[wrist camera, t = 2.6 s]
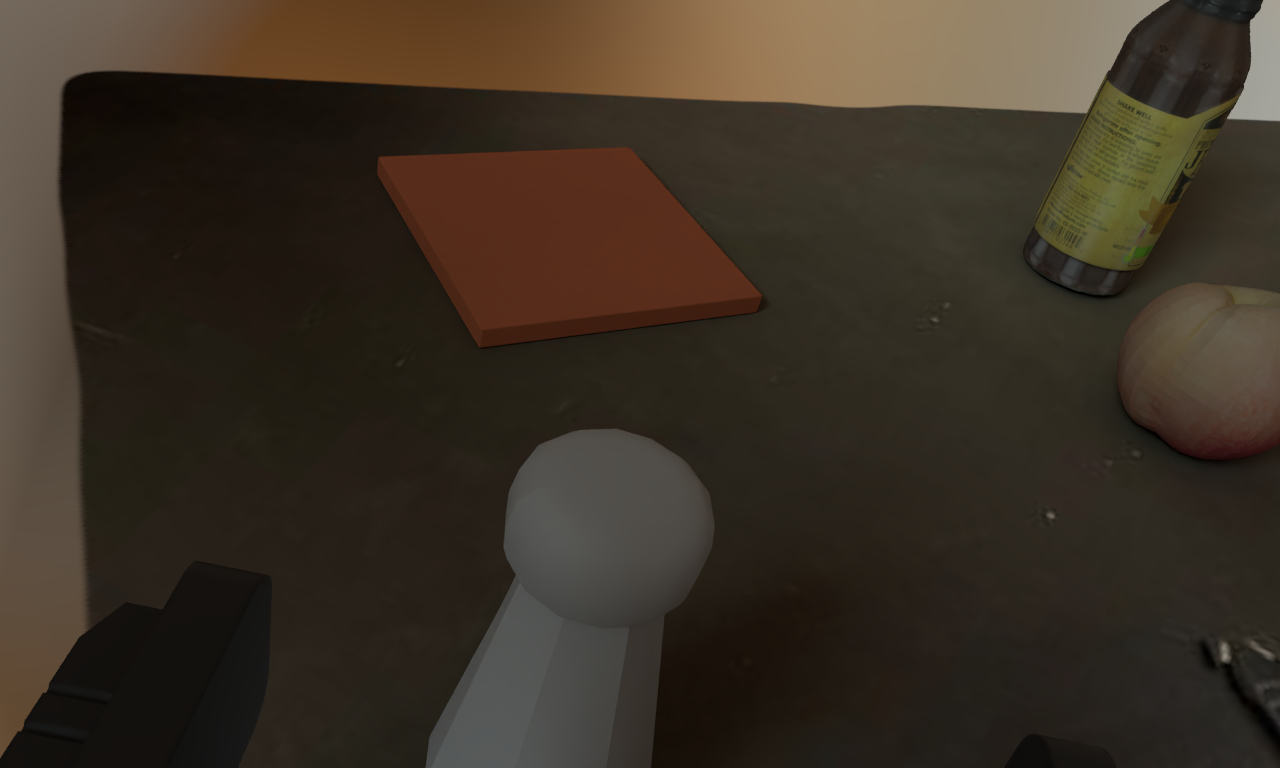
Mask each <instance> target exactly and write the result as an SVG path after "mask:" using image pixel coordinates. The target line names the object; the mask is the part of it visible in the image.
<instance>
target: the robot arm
mask: <svg viewBox="0 0 1280 768" xmlns="http://www.w3.org/2000/svg"><path fill="white" fill-rule="evenodd" d="M271 596H272V583H271V578H270V576H269V575H264V574H259V573H255V572H250V571H245V570H240V569H235V568H230V567H225V566H220V565H215V564H210V563H205V562H200V561H195V562H193V563H192V564H191V565H190V566H189V567H188V568H187V570H186V571H185V573H184V574H183V576H182V577H181V579H180V581H179V582H178V584H177V586H176V588H175V589H174V591H173V593H172V594H171V596H170V598H169V600H168V601H167V603H166V605H165V606H164V608H163V610H162V609H157V608H152V607H147V606H142V605H137V604H132V603H127V602H126V603H125V604H123V605H122V606H121V607H119V608H118V609H117V610H115V611H114V612H113V613H111V614H110V615H109V616H107V617H106V618H105V619H103V620H102V621H101V622H99V623H98V624H97V625H95V626H94V627H93V628H91V629H90V630H89V631H87V632H86V633H85V634H83V635H82V636H81V637H79V638H78V640H77V642H76V643H75V645H74V646H73V648H72V649H71V651H70V652H69V654H68V655H67V657H66V659H65V660H64V662H63V663H62V665H61V666H60V668H59V669H58V671H57V672H56V674H55V675H54V677H53V679H52V680H51V681H50V683H49V688H48V690H47V692H46V693H43V694H42V695H41V697H40V698H39V700H38V702H37V703H36V704H35V706H34V707H33V709H32V711H31V712H30V714H29V715H28V717H27V718H26V720H25V722H24V727H23V729H22V731H21V732H20V731H18V732H17V734H16V735H15V737H14V738H13V740H12V741H11V743H10V744H9V746H8V747H7V749H6V751H5V752H4V753H3V755H2V757H1V758H0V768H238V766H239V764H240V761H241V759H242V757H243V754H244V752H245V750H246V748H247V745H248V743H249V741H250V738H251V736H252V734H253V731H254V729H255V726H256V723H257V721H258V717H259V714H260V711H261V708H262V704H263V700H264V697H265V692H266V687H267V682H268V675H269V654H270V625H271ZM1004 768H1116V765H1115V763H1114V761H1113V759H1112V757H1111V756H1110V754H1109V753H1108V752H1107V751H1106V750H1104V749H1103V748H1100V747H1096V746H1091V745H1086V744H1081V743H1076V742H1071V741H1066V740H1061V739H1056V738H1052V737H1047V736H1042V735H1037V734H1030V735H1028V736H1027V737H1025V738H1024V739H1023V740H1022V742H1021V743H1020V744H1019V746H1018V747H1017V749H1016V750H1015V752H1014V753H1013V755H1012V756H1011V758H1010V760H1009V761H1008V763H1007V764H1006V766H1005V767H1004Z"/></svg>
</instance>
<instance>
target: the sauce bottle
mask: <svg viewBox="0 0 1280 768" xmlns="http://www.w3.org/2000/svg"><path fill="white" fill-rule="evenodd" d="M1262 1H1263V0H1170V1H1168V2H1167V3H1165V4H1163V5H1162V6H1160V7H1159V8H1158V9H1156V10H1155V11H1153V12H1152V13H1151V14H1150V15H1148V16H1147V17H1146V18H1144V19H1143V20H1142V21H1140V22H1139V23H1138V24H1137V25H1136V26H1135V27H1134V28H1133V29H1132V30H1131V32H1130V33H1129V34H1128V36H1127V38H1126V40H1125V42H1124V44H1123V46H1122V49H1121V50H1120V53H1119V54H1118V56H1117V59H1116V60H1115V62H1114V64H1113V66H1112V68H1111V70H1109V71H1108V72H1107V74H1106V76H1105V78H1104V80H1103V82H1102V84H1101V86H1100V88H1099V90H1098V92H1097V94H1096V96H1095V98H1094V100H1093V102H1092V104H1091V106H1090V108H1089V110H1088V112H1087V114H1086V116H1085V118H1084V120H1083V122H1082V124H1081V126H1080V128H1079V130H1078V132H1077V134H1076V136H1075V138H1074V140H1073V142H1072V144H1071V146H1070V148H1069V150H1068V152H1067V154H1066V156H1065V158H1064V160H1063V162H1062V164H1061V166H1060V168H1059V170H1058V172H1057V174H1056V176H1055V178H1054V180H1053V182H1052V184H1051V186H1050V188H1049V190H1048V192H1047V194H1046V196H1045V198H1044V200H1043V202H1042V204H1041V206H1040V208H1039V210H1038V212H1037V214H1036V217H1035V219H1034V221H1035V222H1036V223H1035V225H1034V227H1033V228H1032V231H1031V233H1030V234H1029V236H1028V238H1027V240H1026V243H1025V246H1024V250H1023V254H1024V258H1025V260H1026V261H1027V262H1028V263H1029V264H1030V265H1031V266H1032V268H1033V269H1034V270H1036V271H1037V272H1038V273H1039V274H1041V275H1042V276H1043V277H1045V278H1047V279H1048V280H1050V281H1053V282H1055V283H1057V284H1060V285H1062V286H1064V287H1067V288H1070V289H1072V290H1075V291H1077V292H1082V293H1086V294H1091V295H1102V296H1104V295H1115V294H1117V293H1119V292H1120V291H1122V290H1123V289H1124V288H1125V287H1126V286H1127V284H1128V283H1129V281H1130V279H1131V278H1132V276H1133V273H1134V271H1135V270H1136V269H1138V268H1140V267H1141V266H1142V265H1143V264H1144V262H1145V261H1146V259H1147V257H1148V255H1149V254H1150V252H1151V250H1152V248H1153V247H1154V245H1155V243H1156V242H1157V240H1158V238H1159V236H1160V235H1161V233H1162V231H1163V229H1164V228H1165V226H1166V224H1167V223H1168V221H1169V219H1170V217H1171V216H1172V214H1173V212H1174V210H1175V209H1176V207H1177V205H1178V204H1179V202H1180V201H1181V200H1182V197H1183V195H1184V193H1185V191H1186V190H1187V188H1188V187H1189V185H1190V183H1191V181H1192V179H1193V178H1194V176H1195V174H1196V173H1197V172H1198V170H1199V168H1200V166H1201V164H1202V162H1203V160H1204V158H1205V157H1206V155H1207V154H1208V153H1209V150H1210V148H1211V146H1212V144H1213V143H1214V140H1215V138H1216V137H1217V135H1218V133H1219V131H1220V130H1221V128H1222V126H1223V124H1224V122H1225V121H1226V119H1227V117H1228V115H1229V114H1230V112H1231V110H1232V109H1233V108H1234V106H1235V104H1236V102H1237V100H1238V98H1239V96H1240V95H1241V93H1242V91H1243V89H1244V83H1245V80H1246V78H1247V75H1248V72H1249V70H1250V64H1251V46H1250V20H1251V19H1253V18H1254V17H1255V15H1256V13H1258V12H1259V10H1260V9H1261V4H1262Z"/></svg>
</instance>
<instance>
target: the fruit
mask: <svg viewBox="0 0 1280 768" xmlns="http://www.w3.org/2000/svg"><path fill="white" fill-rule="evenodd" d="M1117 371H1118V388H1119V392H1120V396H1121V399H1122V403H1123V405H1124V408H1125V410H1126V412H1127V413H1128V414H1129V416H1130V417H1131V418H1132V419H1133V420H1134V421H1135V422H1136V423H1137V424H1139V425H1141V426H1143V427H1144V428H1146V429H1149V430H1151V431H1154V432H1156V433H1157V434H1158V435H1159V436H1160V437H1161V438H1162V439H1163V440H1164V441H1165V442H1166V443H1167V444H1168V445H1170V446H1171V447H1172V448H1174V449H1176V450H1177V451H1179V452H1181V453H1184V454H1186V455H1188V456H1192V457H1196V458H1200V459H1208V460H1231V459H1239V458H1243V457H1248V456H1252V455H1256V454H1259V453H1261V452H1264V451H1266V450H1269V449H1271V448H1272V447H1274V446H1276V445H1278V444H1279V443H1280V294H1279V293H1275V292H1271V291H1265V290H1260V289H1254V288H1246V287H1236V286H1226V285H1211V284H1207V283H1202V282H1196V283H1188V284H1185V285H1181V286H1178V287H1176V288H1173V289H1171V290H1168V291H1166V292H1165V293H1163V294H1162V295H1160V296H1158V297H1157V298H1155V299H1154V300H1153V301H1152V302H1150V303H1149V304H1148V305H1147V306H1146V307H1145V308H1144V309H1143V310H1141V311H1140V312H1139V314H1138V315H1137V316H1136V317H1135V318H1134V320H1133V321H1132V322H1131V324H1130V326H1129V328H1128V330H1127V332H1126V334H1125V337H1124V339H1123V342H1122V345H1121V348H1120V352H1119V356H1118V366H1117Z"/></svg>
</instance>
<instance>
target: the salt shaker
mask: <svg viewBox="0 0 1280 768" xmlns="http://www.w3.org/2000/svg"><path fill="white" fill-rule="evenodd" d="M713 534H714V519H713V513H712V507H711V500H710V494H709V492H708V491H707V489H706V488H705V487H704V485H703V484H702V482H701V481H700V480H699V478H698V477H697V476H696V474H695V473H694V471H693V470H692V469H691V467H690V466H689V464H688V463H686V462H685V461H684V460H683V459H682V458H681V457H679V456H677V455H676V454H674V453H673V452H671V451H670V450H668V449H666V448H665V447H663V446H662V445H660V444H659V443H657V442H655V441H654V440H652V439H650V438H646V437H643V436H640V435H636V434H633V433H629V432H626V431H622V430H619V429H595V430H579V431H572V432H570V433H567V434H565V435H562V436H560V437H557V438H555V439H552V440H550V441H547V442H545V443H542V444H540V445H538V446H537V448H536V449H535V450H534V452H533V453H532V454H531V455H530V457H529V458H528V459H527V460H526V462H525V463H524V464H523V466H522V467H521V468H520V469H519V471H518V473H517V475H516V477H515V480H514V482H513V484H512V486H511V488H510V490H509V495H508V503H507V510H506V522H505V535H504V551H505V554H506V558H507V560H508V562H509V563H510V565H511V567H512V569H513V571H514V572H515V574H516V576H515V578H514V581H513V583H512V585H511V587H510V589H509V591H508V593H507V595H506V597H505V599H504V601H503V603H502V605H501V607H500V609H499V610H498V612H497V614H496V616H495V618H494V620H493V621H492V623H491V625H490V627H489V629H488V631H487V632H486V634H485V636H484V638H483V640H482V642H481V643H480V645H479V647H478V649H477V651H476V653H475V654H474V656H473V658H472V660H471V662H470V664H469V665H468V667H467V669H466V671H465V673H464V675H463V676H462V678H461V680H460V682H459V684H458V686H457V687H456V689H455V691H454V693H453V695H452V697H451V698H450V700H449V702H448V704H447V706H446V708H445V709H444V711H443V713H442V715H441V717H440V719H439V720H438V722H437V724H436V726H435V728H434V730H433V731H432V733H431V735H430V737H429V745H428V753H427V762H426V768H651V762H652V751H653V739H654V728H655V717H656V706H657V694H658V683H659V672H660V661H661V649H662V638H663V627H664V616H665V614H666V613H667V612H669V611H671V610H672V609H674V608H676V607H677V606H678V605H680V604H681V603H682V602H683V601H684V600H685V599H686V598H687V596H688V594H689V592H690V590H691V588H692V587H693V585H694V583H695V581H696V579H697V577H698V576H699V574H700V572H701V570H702V568H703V566H704V564H705V562H706V560H707V557H708V555H709V553H710V551H711V549H712V542H713Z"/></svg>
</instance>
